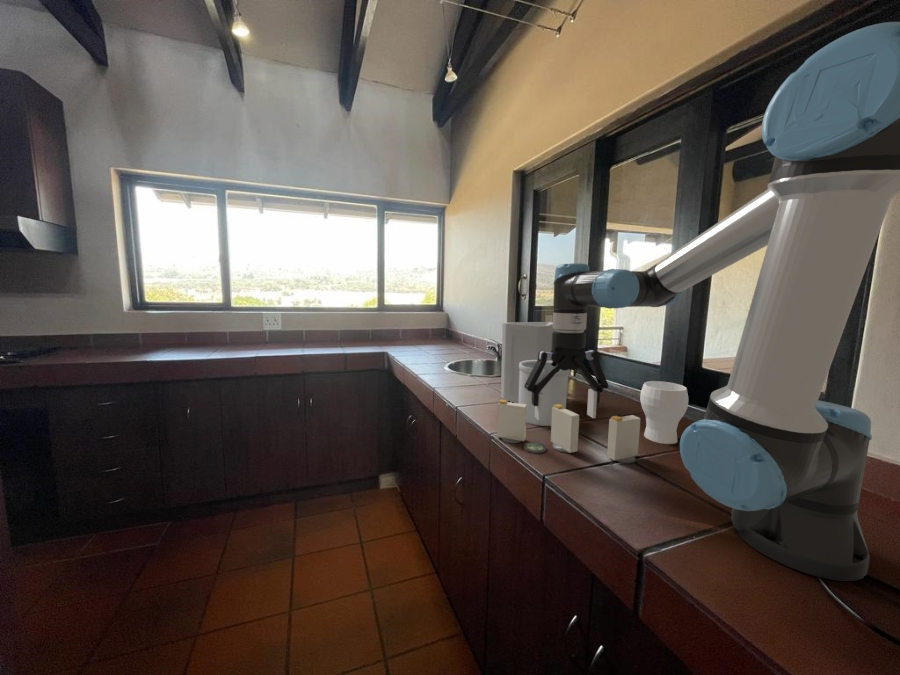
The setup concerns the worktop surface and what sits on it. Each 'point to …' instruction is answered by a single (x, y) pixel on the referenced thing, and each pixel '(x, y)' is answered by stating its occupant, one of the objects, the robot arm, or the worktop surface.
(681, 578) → the worktop surface
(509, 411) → the cream slab
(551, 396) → the utensil holder
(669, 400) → the cup
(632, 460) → the slab with yellow pad
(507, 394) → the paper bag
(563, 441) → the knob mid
